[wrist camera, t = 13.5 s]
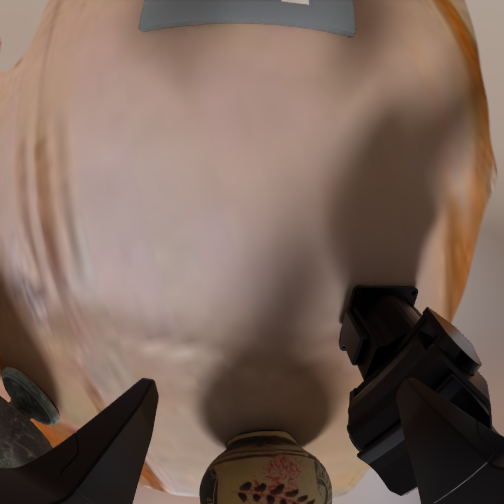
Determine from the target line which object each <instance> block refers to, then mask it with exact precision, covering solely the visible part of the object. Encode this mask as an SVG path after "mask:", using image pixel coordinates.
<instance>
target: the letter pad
mask: <svg viewBox="0 0 504 504" xmlns="http://www.w3.org/2000/svg"><path fill="white" fill-rule="evenodd" d="M217 23H252V24H271V25H283V26H292V27H300V28H308V29H314V30H320V31H326V32H331V33H336V34H341V35H345V36H350V37H353V36H354V35H355V34H356V31H355V16H354V5H353V0H145V2H144V6H143V10H142V14H141V18H140V23H139V28H138V29H140V30H141V31H142V32H145V31H150V30H156V29H162V28H170V27H178V26H187V25H199V24H217Z"/></svg>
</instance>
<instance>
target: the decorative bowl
mask: <svg viewBox="0 0 504 504" xmlns="http://www.w3.org/2000/svg"><path fill="white" fill-rule="evenodd" d="M2 380H3V384H4V387H5V390H6V391H7V393H8V394H9V396H10V397H11V401H10V402H9V403H8V402H7V401H6V400H5V399H4V398H2V397H1V396H0V468H14V467H19V466H22V465H24V464H26V463H28V462H30V461H32V460H34V459H35V458H37V457H39V456H41V455H43V454H44V453H46V452H48V451H49V450H51V449H53V447H52V446H51V444H50V442H49V441H48V440H47V438H46V437H45V436H44V435H43V433H42V432H41V431H40V430H39V429H38V428H37V427H36V426H35V425H34V424H33V422H32V421H30V419H31V418H33V419H35V420H37V421H38V422H41V423H43V424H46V425H55V424H57V423H58V421H59V419H60V416H59V414H58V412H57V410H56V408H55V407H54V405H53V404H52V403H51V401H50V400H49V399H48V397H47V396H46V395H45V394H44V393H43V392H42V391H41V389H40V388H39V387H38V386H37V385H36V384H35V383H34V382H33V381H32V380H30V379H29V378H28V377H27V376H26V375H24V374H23V373H22V372H20V371H19V370H17V369H15V368H12V367H6V368H5V369H4V370H3V372H2Z"/></svg>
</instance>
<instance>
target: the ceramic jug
mask: <svg viewBox="0 0 504 504" xmlns="http://www.w3.org/2000/svg"><path fill="white" fill-rule="evenodd" d="M226 448H227V449H226V450H225V451H224V452H223V453H221V454H220V455H219V456H218V457H217V458H216V459H215V460H214V461H213V462H212V463H211V464H210V466H209V467H208V468H207V470H206V472H205V474H204V476H203V478H202V481H201V485H200V504H332V486H331V482H330V478H329V475H328V473H327V471H326V469H325V467H324V466H323V465H322V464H321V463H320V461H319V460H318V459H317V458H316V457H315V456H313V455H312V454H310V453H309V452H307V451H306V450H304V449H303V448H301V447H300V446H298V445H297V443H296V441H295V439H294V438H293V437H292V436H291V435H289V434H288V433H286V432H284V431H259V432H252V433H246V434H240V435H237V436H235V437H234V438H232V439H231V440H229V441H228V442H227V443H226Z"/></svg>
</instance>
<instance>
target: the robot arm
mask: <svg viewBox="0 0 504 504" xmlns="http://www.w3.org/2000/svg"><path fill="white" fill-rule="evenodd" d="M360 290H361V292H360V293H358V294H357V292H358V291H360ZM413 291H414V292H413ZM412 292H413V293H412ZM411 293H412V294H411ZM417 294H418V289H417V288H416V287H415V286H364V285H359V286H356V287H355V288H354V289H353V292H352V296H351V300H350V305H349V309H347V311H346V312H345V316H344V320H343V324H342V327H341V331H340V337H341V339H340V343H339V347H340V349H341V350H342V351H347V354H348V356H349V359H350V361H351V363H352V364H353V365H358V368H359V370H360V372H361V375H362V377H363V380H364V381H363V382H362V383H361V384H360V385H359V386H358V387H357V388H354V389H353V390H352V391H351V392H350V399H349V408H348V415H349V419H348V425H347V431H348V434H349V437H350V439H351V441H352V443H353V445H354V446H355V448H356V449H357V450H358V451H359V453H358V454H357V457H358V458H359V459H361V460H362V461H364V462H365V463H367V464H368V465H369V466H370V467H372V468H373V469H374V470H375V471H376V472H377V473H378V475H379V476H380V477H381V479H382V480H383V482H384V483H385V485H386V486H387V488H388V489H389V490H390V491H392V492H394V493H396V494H398V495H400V496H404V495H406V494H408V493H410V492H411V491H413V490H415V489H417V488H418V490H419V495H420V500H421V504H504V437H503V436H501V435H500V434H499V433H498V432H497V431H496V430H495V429H494V427H493V426H492V416H491V404H490V397H489V391H488V385H487V382H486V380H485V379H484V378H483V376H482V375H480V373H479V372H478V371H477V370H478V369H479V368H480V367H481V365H482V364H481V361H480V359H479V357H478V355H477V353H476V351H475V349H474V347H473V345H472V343H471V342H470V341H469V340H468V339H467V338H466V337H465V336H464V335H463V334H462V333H461V332H460V331H459V330H458V329H457V328H456V327H455V326H453V325H452V324H451V323H449V322H448V321H447V320H445V319H444V318H442V317H441V316H440V315H438V314H437V313H436V312H434V311H433V310H431V309H430V308H429V307H426V309H425V310H424V311H423V315H422V314H421V313H420V312H419V311H418V310H417V309H416V308H415V307H414V304H415V301H416V298H417ZM343 345H344V346H343ZM158 398H159V396H158V391H157V388H156V384H155V381H154V380H153V379H148V378H142V379H140V380H139V381H138V382H137V383H136V384H134V385H133V386H132V387H131V388H130V389H128V390H127V391H126V392H125V393H124V394H122V395H121V396H120V397H119V398H117V399H116V400H115V401H114V402H113V403H111V404H110V405H109V406H108V407H106V408H105V409H104V410H103V411H101V412H100V413H99V414H98V415H96V416H95V417H94V418H93V419H91V420H90V421H89V422H88V423H86V424H85V425H84V426H83V427H81V428H80V429H79V430H78V431H77V432H76V433H74V434H72V435H71V436H70V437H69V438H67V439H66V440H65V441H63V442H62V443H60V444H59V445H57V446H56V447H54V448H53V449H51V450H49V451H48V452H46V453H44V454H43V455H41V456H39V457H37V458H35V459H34V460H32V461H30V462H28V463H26V464H24V465H22V466H19V467H14V468H0V504H132V503H133V500H134V496H135V492H136V488H137V485H138V482H139V478H140V475H141V471H142V468H143V464H144V461H145V457H146V454H147V451H148V448H149V444H150V441H151V437H152V433H153V427H154V421H155V416H156V410H157V405H158Z"/></svg>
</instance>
